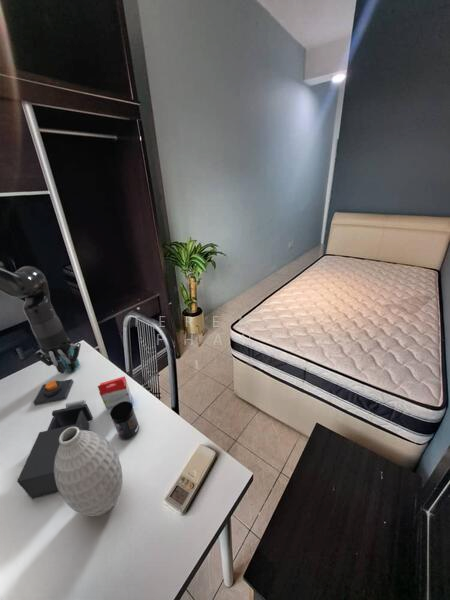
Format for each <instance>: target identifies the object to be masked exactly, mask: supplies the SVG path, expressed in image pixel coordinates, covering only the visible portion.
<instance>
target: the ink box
mask: <svg viewBox="0 0 450 600" xmlns="http://www.w3.org/2000/svg"><path fill="white" fill-rule="evenodd" d="M97 389H98V392H99V395H100V398H101V400H102V402H103V404H104V407H105V409H106V411H107V413H108V414H107V415H109V416H110V412H111V410H112V408H113V407H114V406H115V405H117V404H118V403H120V402H124V401H127V402H130V403H131V404H132V406H133V407H134V401H133V396H132V393H131V390H130V386H129V384H128V381H127V379H126V376H121V377H116V378H114V379H110V380H107V381H104V382H100V383H99V384H98V385H97Z"/></svg>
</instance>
